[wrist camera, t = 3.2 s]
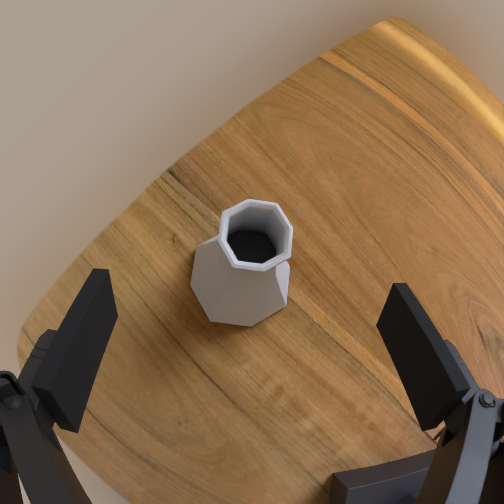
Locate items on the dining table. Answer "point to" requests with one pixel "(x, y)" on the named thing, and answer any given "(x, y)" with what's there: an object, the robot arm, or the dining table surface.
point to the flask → (244, 265)
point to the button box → (382, 482)
